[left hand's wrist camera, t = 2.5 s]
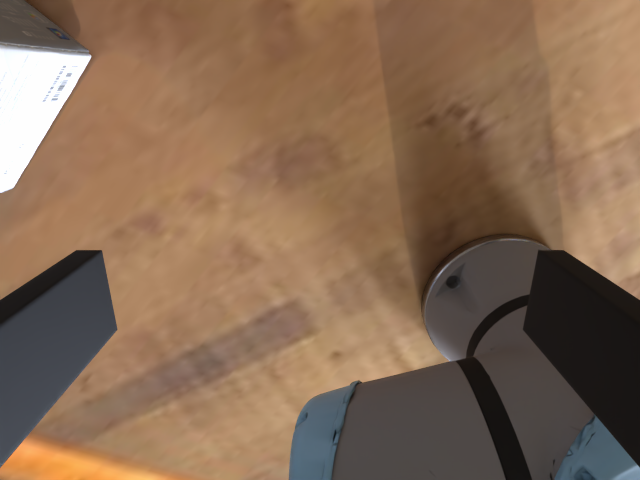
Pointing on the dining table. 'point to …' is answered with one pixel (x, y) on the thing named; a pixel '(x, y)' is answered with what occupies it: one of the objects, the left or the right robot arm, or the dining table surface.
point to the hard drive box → (31, 82)
